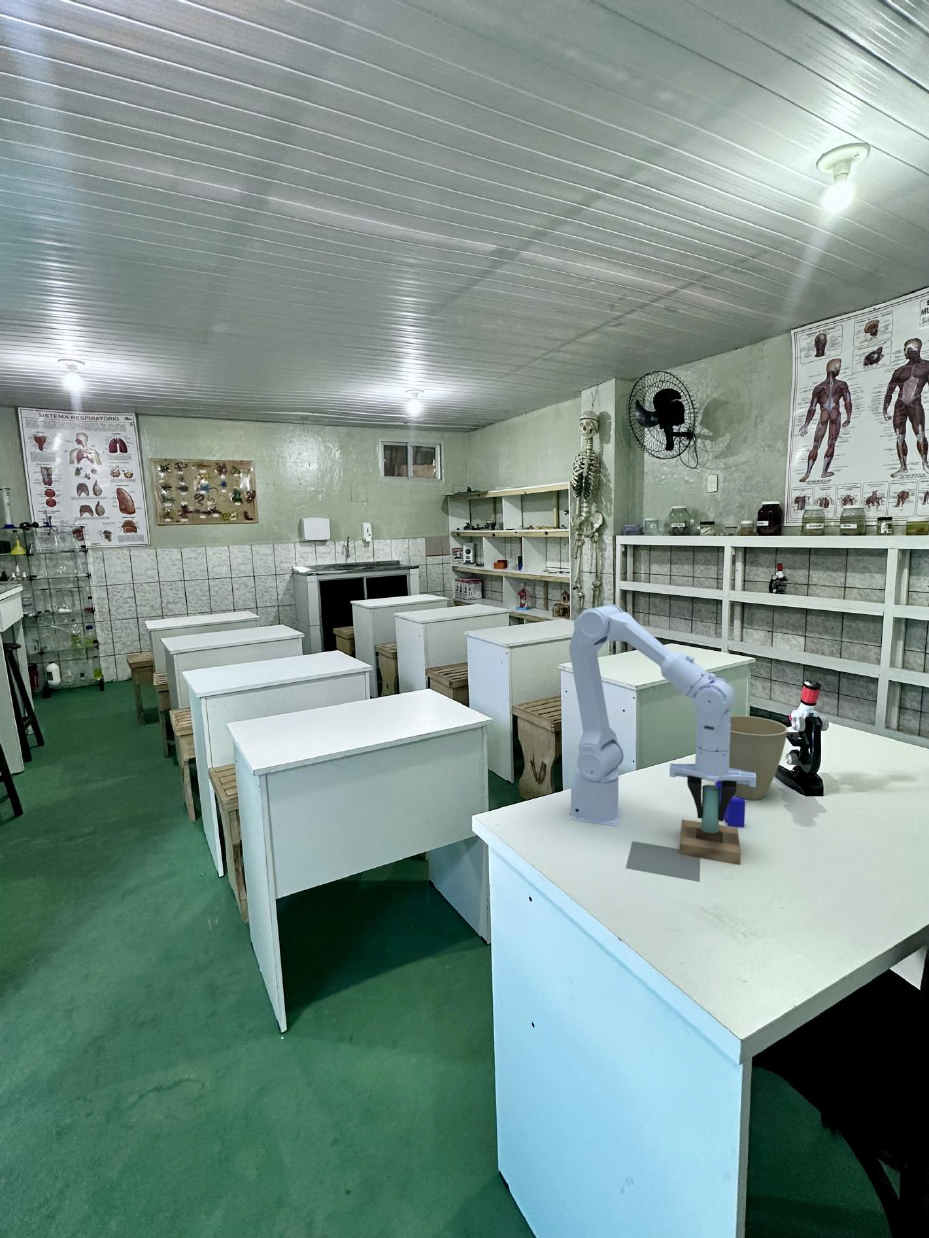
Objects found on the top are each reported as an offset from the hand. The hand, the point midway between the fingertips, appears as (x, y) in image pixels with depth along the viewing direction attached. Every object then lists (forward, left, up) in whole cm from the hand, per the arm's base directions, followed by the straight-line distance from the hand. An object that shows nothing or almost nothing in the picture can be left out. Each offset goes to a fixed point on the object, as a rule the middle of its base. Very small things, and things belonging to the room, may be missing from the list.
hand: (710, 817), depth 110 cm
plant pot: (+8, +29, -6) cm, 31 cm away
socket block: (0, 0, -6) cm, 6 cm away
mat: (-8, -8, -6) cm, 12 cm away
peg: (0, 0, -2) cm, 2 cm away
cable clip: (+3, +16, -6) cm, 17 cm away
